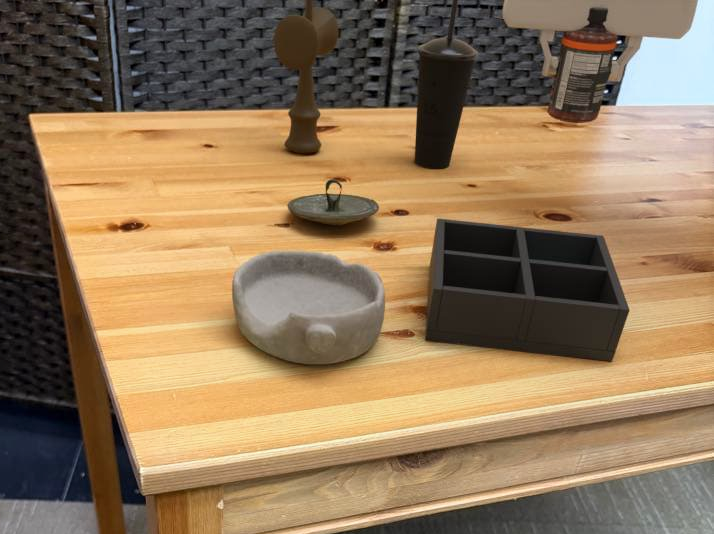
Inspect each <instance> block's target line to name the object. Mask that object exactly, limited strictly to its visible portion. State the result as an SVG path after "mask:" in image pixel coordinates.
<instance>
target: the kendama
mask: <svg viewBox="0 0 714 534" xmlns="http://www.w3.org/2000/svg"><path fill="white" fill-rule="evenodd" d="M339 34H340V33H339V23H338V21H337V19H336V15H335V14H334V13H332V12H331V11H330V10H329V9H327V8H324V7H321V6H315V7H314V0H305V10H304V12H303V14H302V15H299V14H290V15H289V14H288V15H286V16H285V17H283V18H282V19H280V20H279V21H278V23H277V25H276V27H275V29H274V35H273V49H274V53H275V55H276V57H277V60H278V62H279V63H281V64H282V65H283V66H284V67H286V68H287V69H290V70H293V71H299V74H298V82H297V87H296V93H295V98H294V101H293V105H292V106H291V108H290V109H289V110H288V112H287V114H288V117H289V118H290V129H289V134H288V137H287V138H286V140H285V141H284V147H285V148H286V149H287V150H289V151H291V152H293V153H298V154H312V153H315V152H317V151H319V150H320V149H321V148H322V143H321V141H320V139H319V137H318V133H317V132H318V131H317V130H318V129H317V126H318V120H319V119H320V117H321V112H320V110H319V109H318V107H317V103H316V99H315V97H316V96H315V88H314V87H315V86H314V73H313V64H314V63H315V61H316V59H317V58H318V56H326V55H328V54H330V53H332V52H333V50H334V49H335V47H336V46H337V44H338V39H339Z"/></svg>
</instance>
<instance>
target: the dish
mask: <svg viewBox="0 0 714 534" xmlns="http://www.w3.org/2000/svg"><path fill="white" fill-rule="evenodd" d="M231 282H232V283H231V299H232V306H233V307H232V308H233V312H234V316H235V319H236V323H237V326H238V328H239V330H240V332H241V333H242V335H243V336H244V337H245V339H247V340H248V341H249V342H250V343H251V344H252V345H254V346H255V347H256V348H258V349H260V350H261V351H263V352H266V353H267V354H269V355H271V356H273V357H276V358H279V359H282V360H285V361H288V362H291V363H298V364H305V365H329V364H330V365H331V364H336V363H341V362H346V361H348V360H351V359H354V358H356V357H359V356H361V355H363V354H364V353H366V352H367V351H368V350H369V349H371V348H372V347H373V346H374V345H375V343H376V342H377V340H378V339H379V336H380V334H381V331H382V328H383V323H384V320H385V319H384V317H385V312H386V311H385V309H386V292H385V288H384V284H383V280H382V277H381V276H380V274H379V273H378V272H376V271H374V270H372V268H370V267H369V266H367V265H365V264H364V263H361V262H358V263H349V262H346V261H344V260H342V259H340V258H339V257H338V256H337V255H335V254H333V253H332V254H331V253H328V254H327V253H323V252H321V251H319V252H318V251H306V250H272V251H268V252H264V253H260V254H257V255H256V256H253V257H251V258H249V259H248V260H245V262H242V264H241V265H239V267H238V268H237V269H236V270H235V272H234V275H233V277H232V281H231Z"/></svg>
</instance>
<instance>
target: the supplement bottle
mask: <svg viewBox="0 0 714 534" xmlns="http://www.w3.org/2000/svg"><path fill="white" fill-rule="evenodd" d="M607 13H608V9H607V8H595V7H593V8H590V10H589V16H588V18H587V20H588V21H589V24H588V25H586V26H584V27H583V28H582V29H580V30H576V31H572V32H570V31H563V33H562V38H561V43H560V48H559V52H558V56H557V57H558V59H559V64H558V67H557V68H556V70H557V74H556V77H553V82H552V86H551V90H550V91H551V92H550V95H549V100H548V107H547V113H548V115H549V116H550V117H551V118H552V119H555V120H558V121H560V122H564V123H572V124H585V123H590V122H593V121H595V120H597V118H598V117H599V114H600V111H601V107H602V103H603V100H604V95H605V91H606V87H607V83H608V81H607V79H608V75H609V71H610V67H611V63H612V61H613V59H614V55H615V51H616V46H617V43H618V35H615V34H613V33H611V32H609V31H607V30H606V28H605V26H604V24H603V23H604V22H605V21H607V19H606V18H607Z"/></svg>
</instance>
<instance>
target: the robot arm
mask: <svg viewBox="0 0 714 534" xmlns="http://www.w3.org/2000/svg"><path fill="white" fill-rule="evenodd" d="M503 1H504V2H503V6H502V13H501V17H502V19H503V22H504V23H505V24H506V26H507V27H508V28H514V29H527V30H528V29H529V30H530V29H531V30H539V35H538V39H539V42H540V46H541V49H542V52H543V56H544V60H543V66H542V69H541V76H542V77H552V78H554V77H556V74H557V70H556V68H557V67H558V64H559V59H558V57H559V56H553V55H552V53H551V50H550V45H549V43H550V42H551V43H552V42H553V41H554V39H555V35H556V32H559V31H560V32H564V31H570V32H572V31H576V30H580V29H582V28H583V27H584V26H586V25H588V24H589V21H588V20H587V18H588V16H589V10H590V8H593V7H595V8H607V9H608V13H607V18H606V19H607V21H605V22H604V23H603V24H604V26H605V28H606V30H607V31H609V32H611V33H613V34H615V35H617V36H625V40H624V44H625V45H626V48H625V50H624V51H623V52H622V53H621V55H620V56H619V57H618V59H616V60H612V63H611V67H610V71H609V75H608V79H607V82H619V83H620V82H621V81H622V78H623V75H624V71H625V66H626V65H627V64H628V63H629V62H630V61H631V60H632V58H633V57H634V56H635V55H636V54H637V52H638V51H639V50H640V49H641V46H642V42H643V38H655V39H670V40H680V39H682V38H683V37H684V36H686V34H687V33H688V32H689V31H690V30H691V28H692V26H693V23H694V19H695V15H696V12H697V8H698V2H699V0H503Z"/></svg>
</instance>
